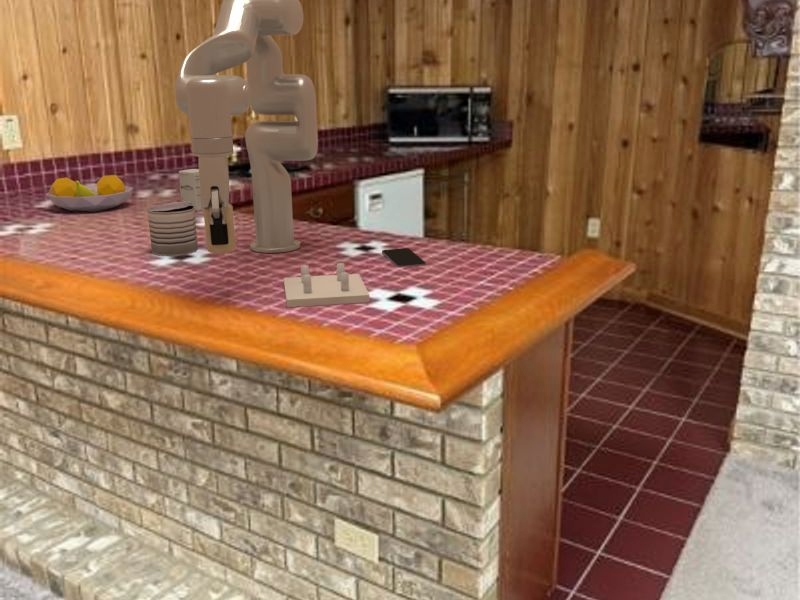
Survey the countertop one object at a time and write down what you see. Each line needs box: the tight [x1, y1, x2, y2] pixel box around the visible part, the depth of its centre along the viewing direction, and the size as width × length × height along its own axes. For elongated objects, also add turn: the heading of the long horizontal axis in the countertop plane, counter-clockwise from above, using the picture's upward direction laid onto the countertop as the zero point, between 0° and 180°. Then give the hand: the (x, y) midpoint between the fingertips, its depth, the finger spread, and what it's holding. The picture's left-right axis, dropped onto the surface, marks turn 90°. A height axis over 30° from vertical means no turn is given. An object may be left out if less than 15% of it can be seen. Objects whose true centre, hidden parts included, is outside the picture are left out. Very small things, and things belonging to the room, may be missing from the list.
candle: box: [202, 200, 237, 254], centre depth 144 cm, size 6×6×10 cm
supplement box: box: [178, 168, 203, 212], centre depth 243 cm, size 7×7×13 cm
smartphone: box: [381, 247, 427, 268], centre depth 178 cm, size 7×1×15 cm
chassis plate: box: [283, 262, 371, 308], centre depth 150 cm, size 16×16×5 cm
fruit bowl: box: [45, 174, 134, 212], centre depth 245 cm, size 28×27×11 cm
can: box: [146, 201, 199, 257], centre depth 186 cm, size 11×11×12 cm
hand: (220, 239), depth 145 cm, fingers closed on candle, 5 cm apart
